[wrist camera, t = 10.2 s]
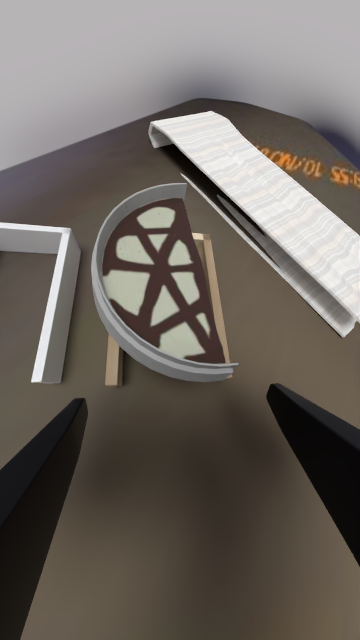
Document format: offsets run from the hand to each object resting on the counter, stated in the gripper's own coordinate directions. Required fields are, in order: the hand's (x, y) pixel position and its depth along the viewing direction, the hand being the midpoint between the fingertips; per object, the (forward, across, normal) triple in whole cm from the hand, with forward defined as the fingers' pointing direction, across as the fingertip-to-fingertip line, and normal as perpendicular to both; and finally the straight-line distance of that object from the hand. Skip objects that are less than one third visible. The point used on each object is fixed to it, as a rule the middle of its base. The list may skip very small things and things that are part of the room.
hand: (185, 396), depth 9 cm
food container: (+10, +2, +1) cm, 11 cm away
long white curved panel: (+23, -15, -11) cm, 30 cm away
